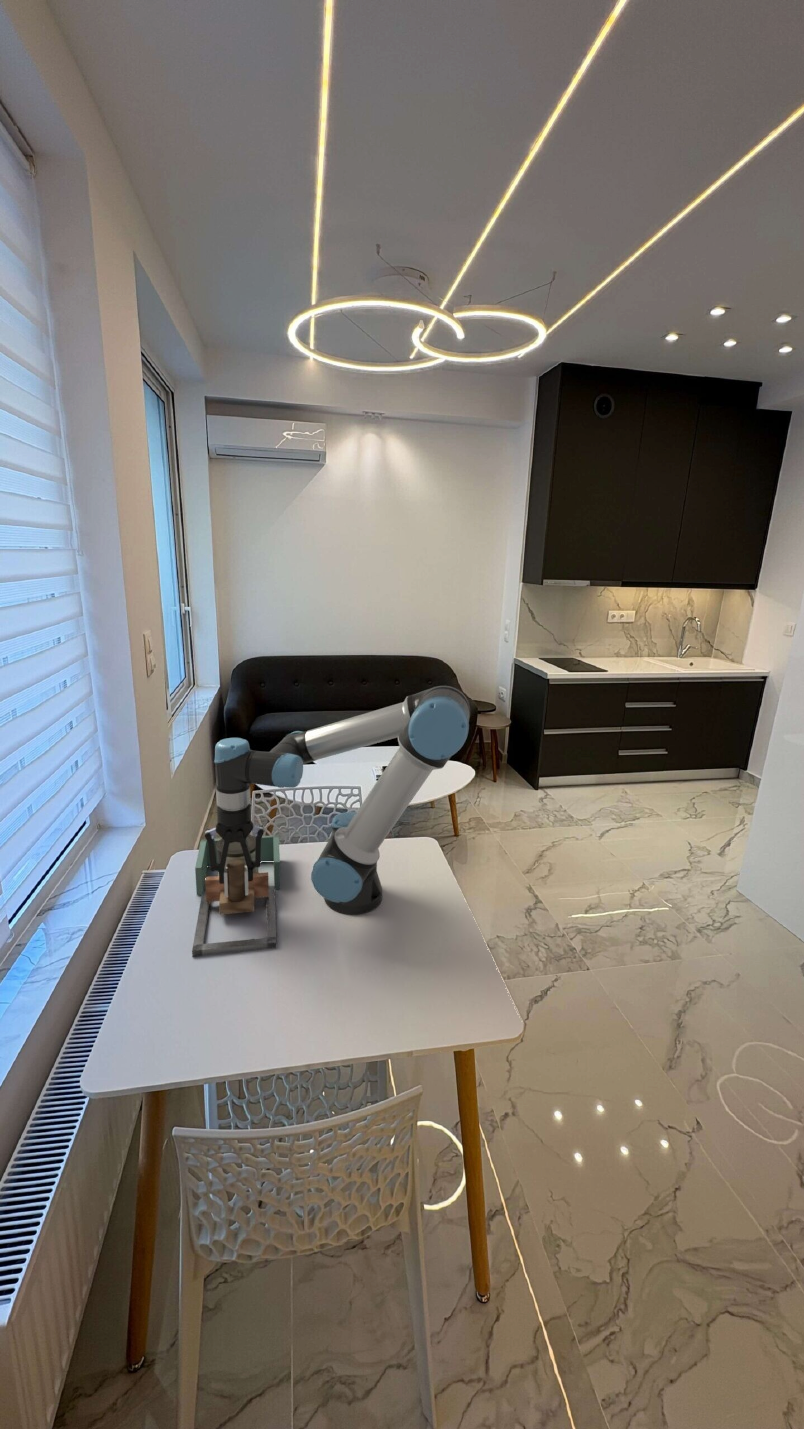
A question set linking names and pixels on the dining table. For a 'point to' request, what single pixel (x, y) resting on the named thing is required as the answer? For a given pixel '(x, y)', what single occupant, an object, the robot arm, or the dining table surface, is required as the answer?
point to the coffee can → (237, 851)
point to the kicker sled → (237, 889)
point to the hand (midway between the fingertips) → (236, 893)
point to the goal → (267, 854)
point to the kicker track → (233, 946)
